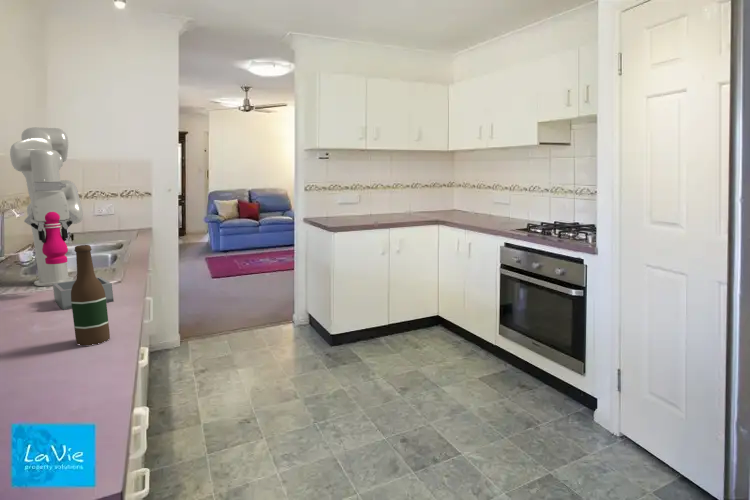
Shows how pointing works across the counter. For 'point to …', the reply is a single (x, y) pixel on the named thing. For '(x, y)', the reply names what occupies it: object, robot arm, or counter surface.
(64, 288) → the bin
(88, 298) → the beer bottle
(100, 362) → the counter surface
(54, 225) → the pepper mill
